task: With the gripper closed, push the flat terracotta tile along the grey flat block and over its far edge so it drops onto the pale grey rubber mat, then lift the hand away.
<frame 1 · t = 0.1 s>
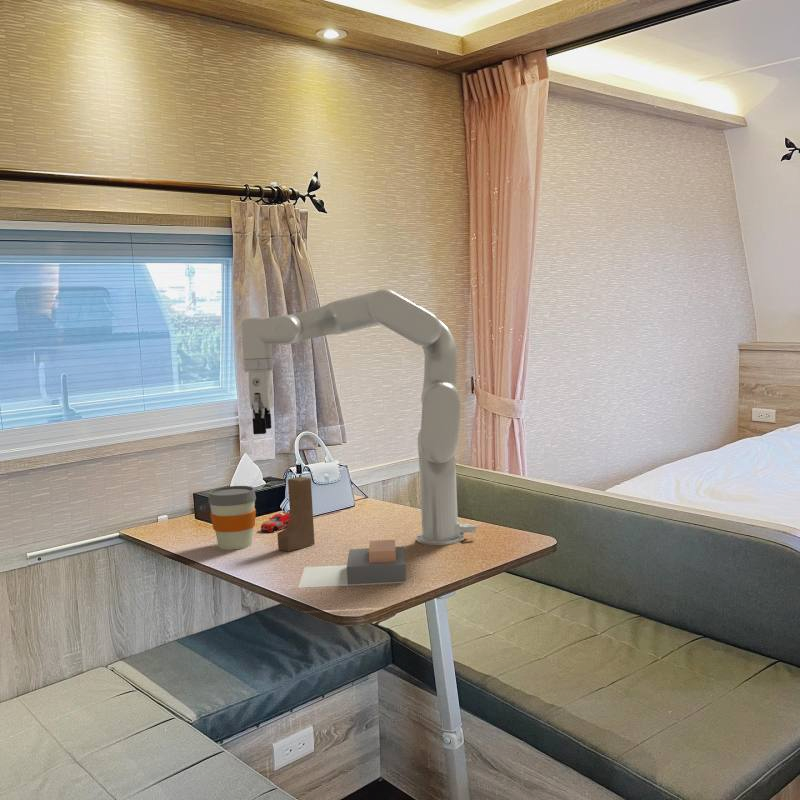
hand: (262, 431, 213), 31 cm above the table, tool pointing down, fingers open, 9 cm apart
reusable coffee cup: (235, 545, 221), on the table
wooden block: (296, 547, 216), on the table
mat: (353, 576, 190), on the table
grey flat block: (377, 573, 190), resting on mat
race car: (280, 528, 238), on the table
tile: (382, 550, 189), point 6 cm above the table, touching grey flat block
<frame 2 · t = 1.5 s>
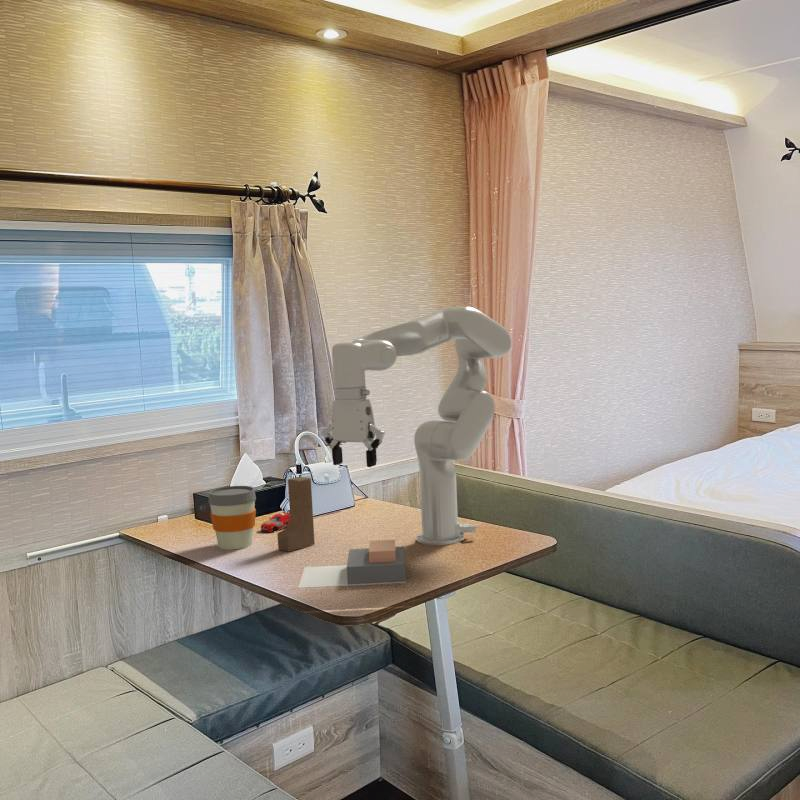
hand: (354, 465, 197), 24 cm above the table, tool pointing down, fingers open, 9 cm apart
nothing on the table moved.
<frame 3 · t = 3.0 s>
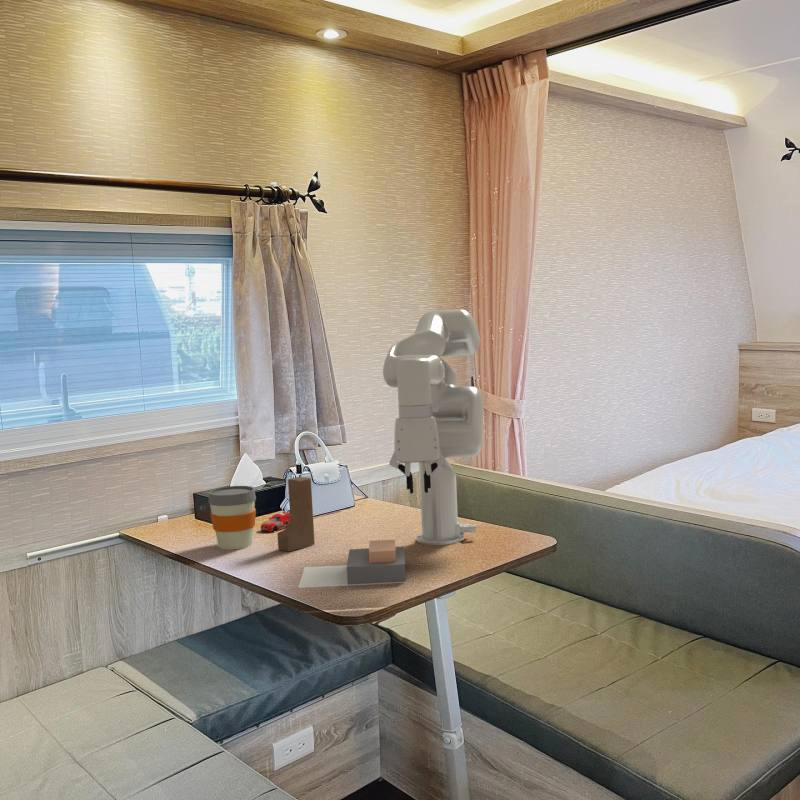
hand: (418, 491, 188), 19 cm above the table, tool pointing down, fingers closed
nothing on the table moved.
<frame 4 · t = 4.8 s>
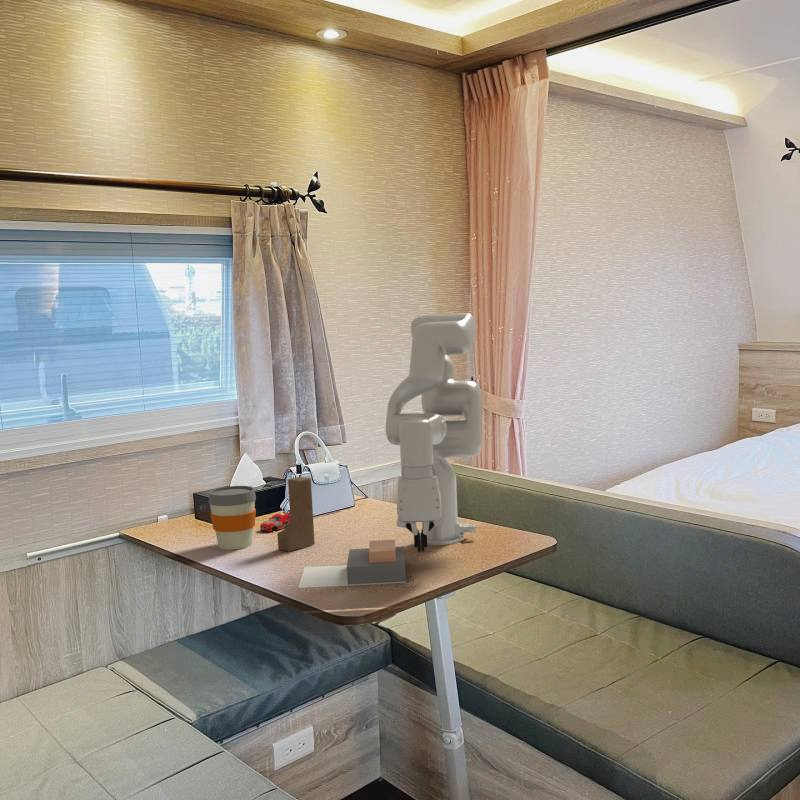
hand: (421, 550, 189), 5 cm above the table, tool pointing down, fingers closed
nothing on the table moved.
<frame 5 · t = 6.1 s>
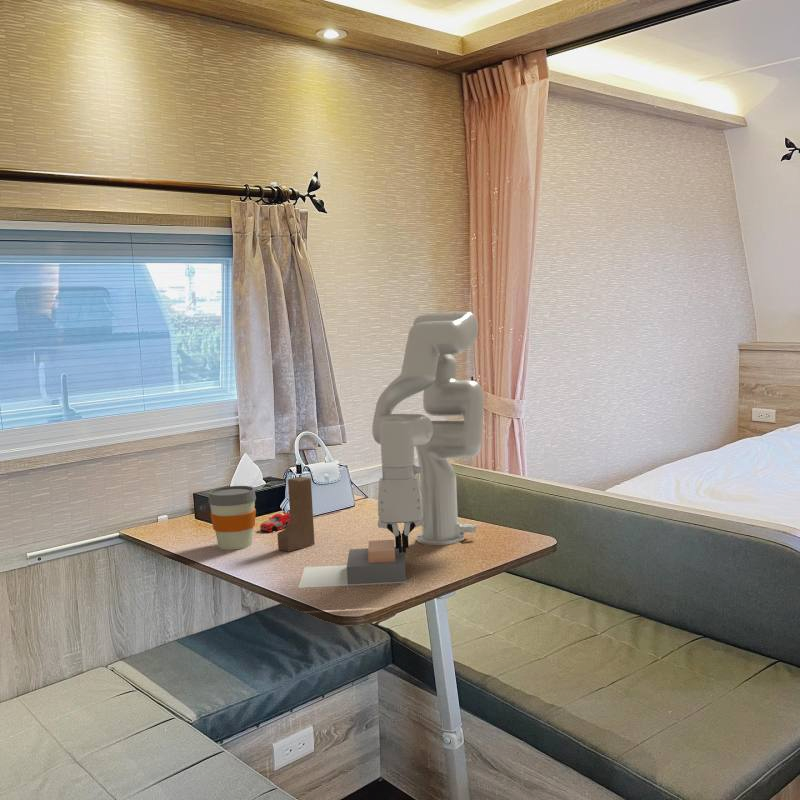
hand: (402, 551, 189), 5 cm above the table, tool pointing down, fingers closed
tile: (381, 550, 189), point 6 cm above the table, touching gripper
everything else where it was.
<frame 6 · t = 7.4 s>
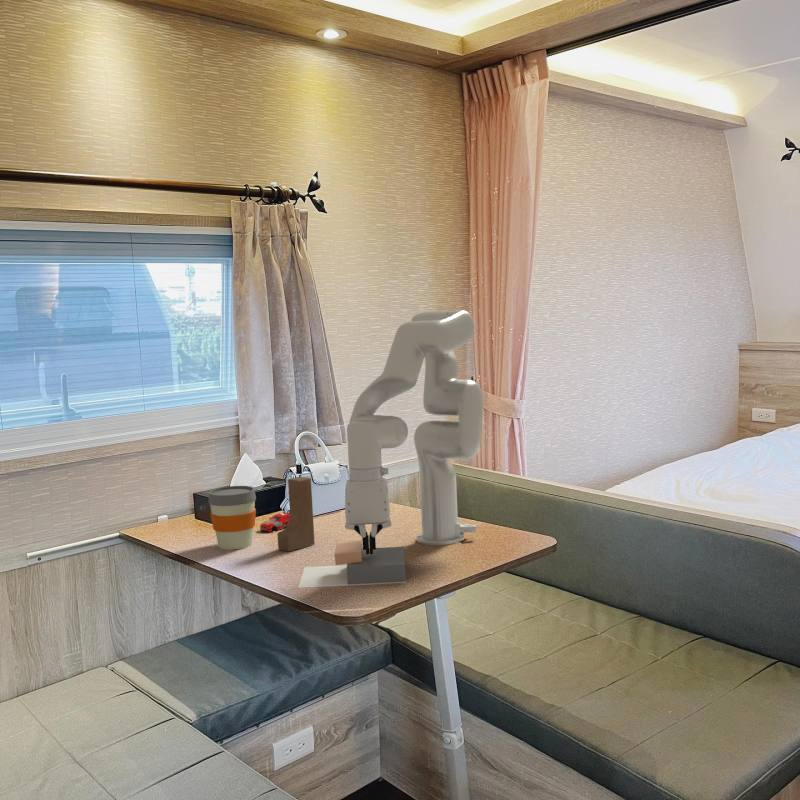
hand: (369, 552, 189), 5 cm above the table, tool pointing down, fingers closed
tile: (348, 552, 189), point 6 cm above the table, touching grey flat block
everything else where it was.
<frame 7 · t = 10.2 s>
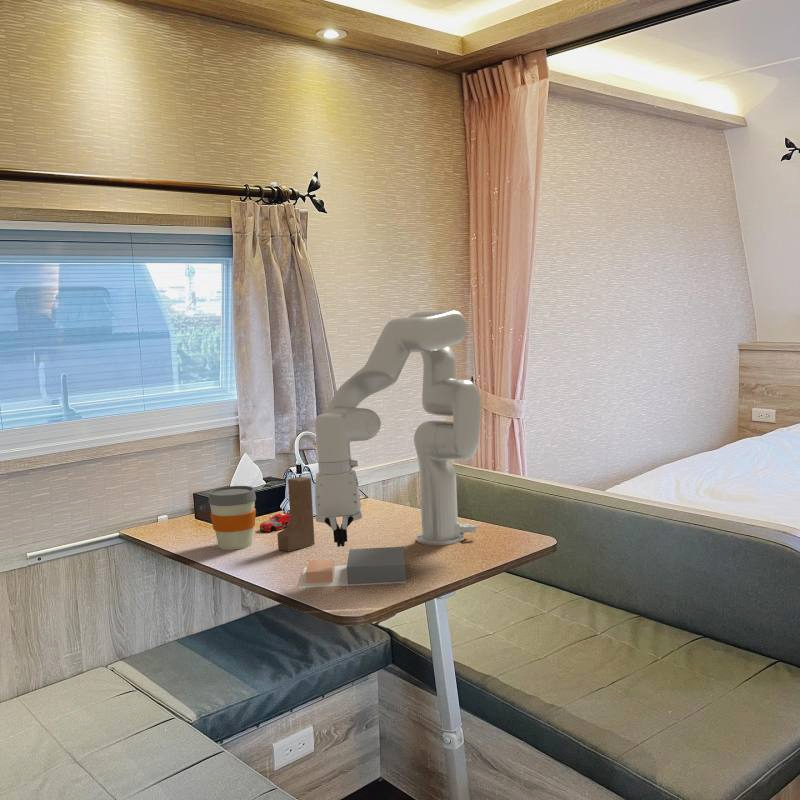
hand: (341, 544, 189), 7 cm above the table, tool pointing down, fingers closed
tile: (320, 571, 189), point 2 cm above the table, tilted 180°, touching mat
everything else where it was.
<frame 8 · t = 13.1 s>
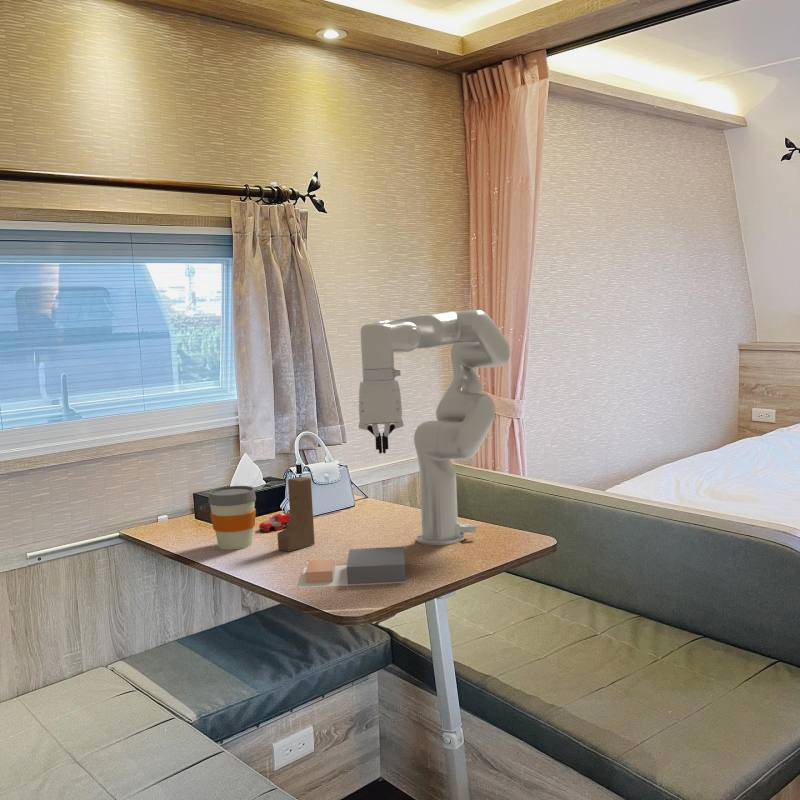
hand: (382, 452, 196), 27 cm above the table, tool pointing down, fingers closed
nothing on the table moved.
at the end: tile point 1.6 cm above the table; tile inside the target area (0.1 cm from its centre), point 1.6 cm above the table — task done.
